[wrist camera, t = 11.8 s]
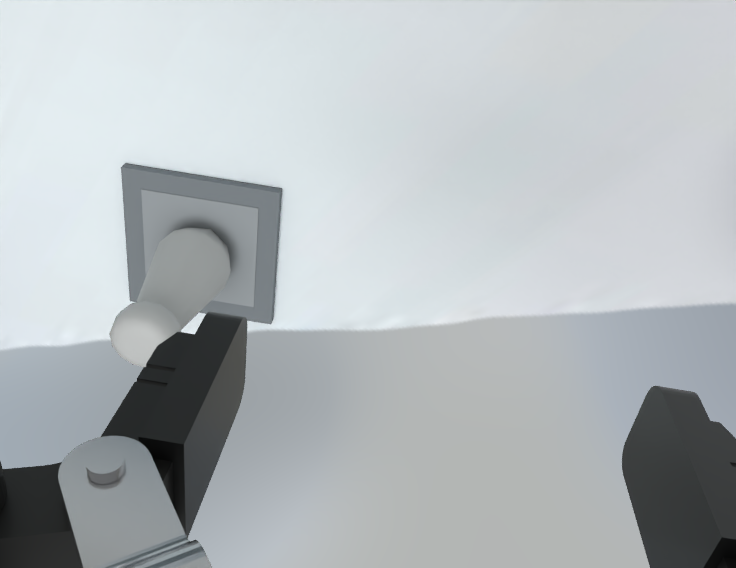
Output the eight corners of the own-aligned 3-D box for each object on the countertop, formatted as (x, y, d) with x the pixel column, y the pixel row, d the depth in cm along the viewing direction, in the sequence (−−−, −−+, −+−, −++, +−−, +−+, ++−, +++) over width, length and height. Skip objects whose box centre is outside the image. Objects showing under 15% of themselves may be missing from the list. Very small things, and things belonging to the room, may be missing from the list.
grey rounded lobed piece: (223, 292, 56) (167, 397, 44) (157, 262, 55) (83, 361, 44) (248, 236, 53) (195, 333, 42) (179, 203, 52) (106, 293, 41)
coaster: (281, 188, 51) (279, 193, 50) (273, 318, 58) (270, 324, 57) (125, 163, 51) (120, 167, 51) (133, 295, 58) (129, 301, 57)
